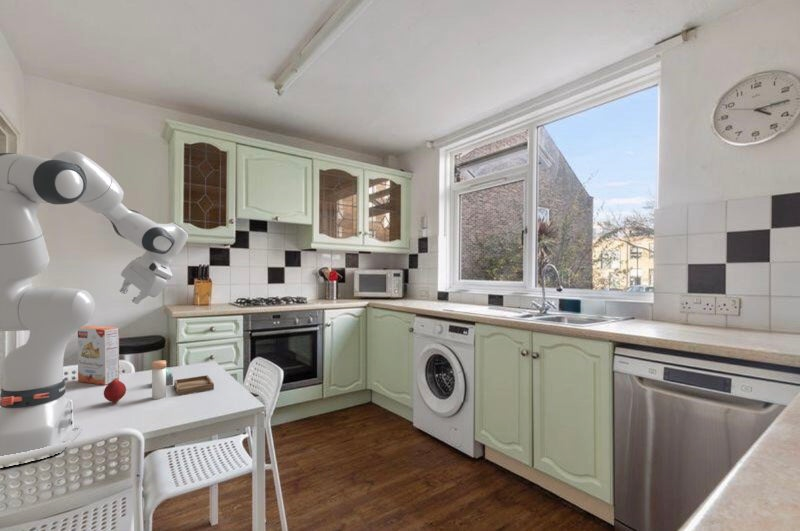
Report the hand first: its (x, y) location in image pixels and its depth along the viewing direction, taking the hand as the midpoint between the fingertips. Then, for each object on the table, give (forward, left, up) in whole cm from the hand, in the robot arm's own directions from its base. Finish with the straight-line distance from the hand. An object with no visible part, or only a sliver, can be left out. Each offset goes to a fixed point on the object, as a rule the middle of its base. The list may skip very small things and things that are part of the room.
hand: (128, 297), depth 134 cm
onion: (-10, +3, -33) cm, 35 cm away
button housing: (+4, -11, -33) cm, 35 cm away
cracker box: (+21, +9, -33) cm, 41 cm away
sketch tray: (-7, -20, -33) cm, 39 cm away
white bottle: (-12, -9, -33) cm, 36 cm away
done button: (+4, -11, -32) cm, 34 cm away
